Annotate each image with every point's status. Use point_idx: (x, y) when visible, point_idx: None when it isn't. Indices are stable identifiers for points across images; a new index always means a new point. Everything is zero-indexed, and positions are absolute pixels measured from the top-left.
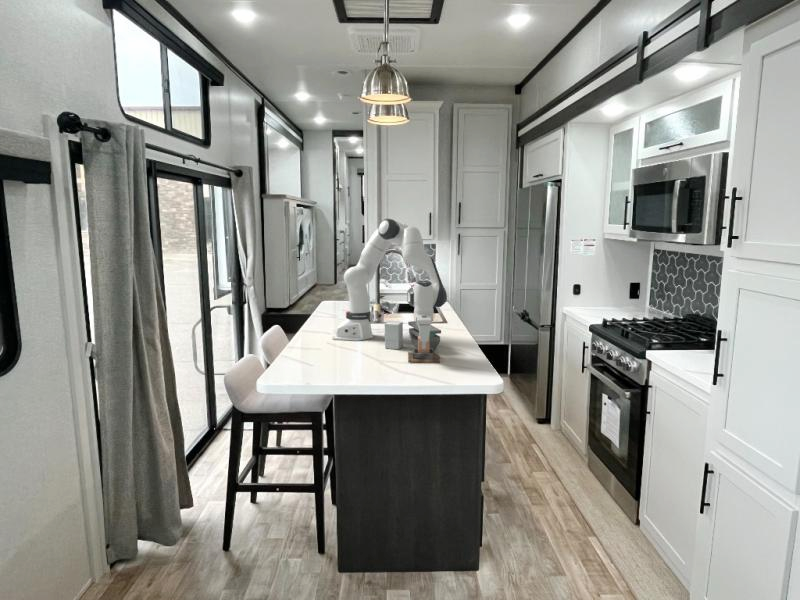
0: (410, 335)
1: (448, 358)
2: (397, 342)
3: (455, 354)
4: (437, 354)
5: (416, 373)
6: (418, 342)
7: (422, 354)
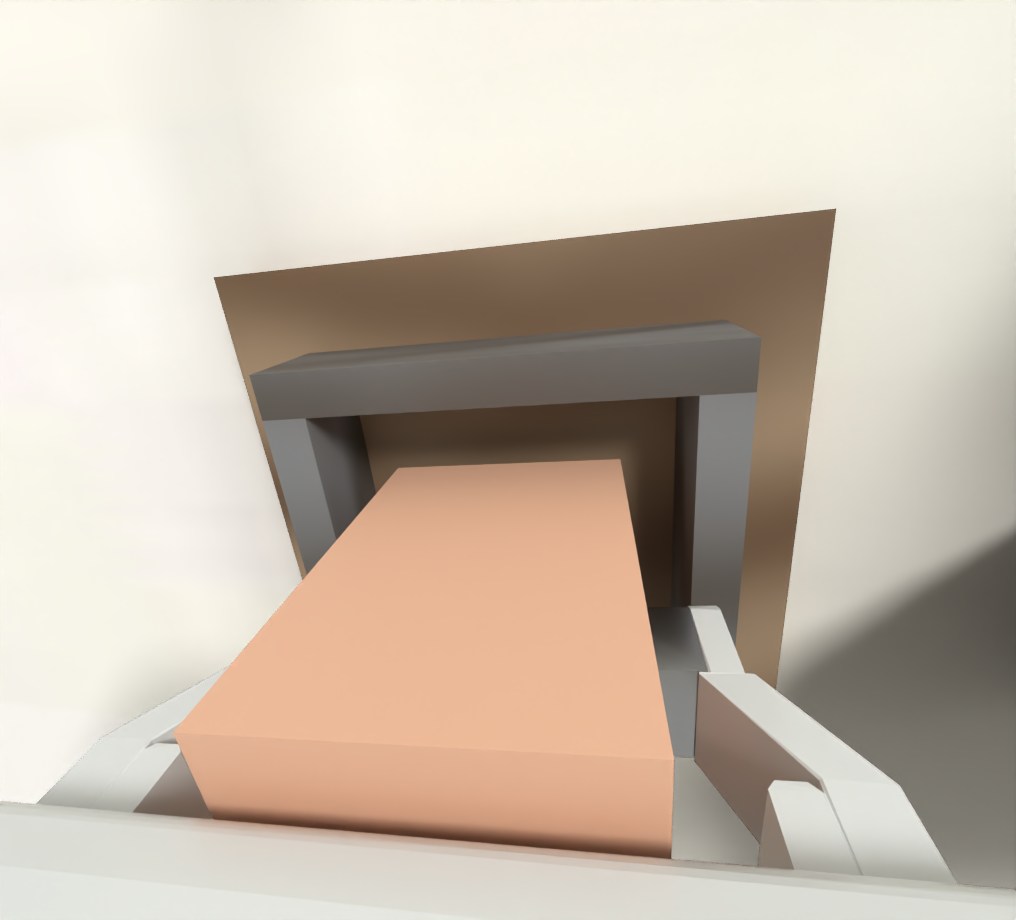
0: None
1: None
2: None
3: (756, 856)
4: None
5: None
6: (275, 620)
7: (309, 544)
